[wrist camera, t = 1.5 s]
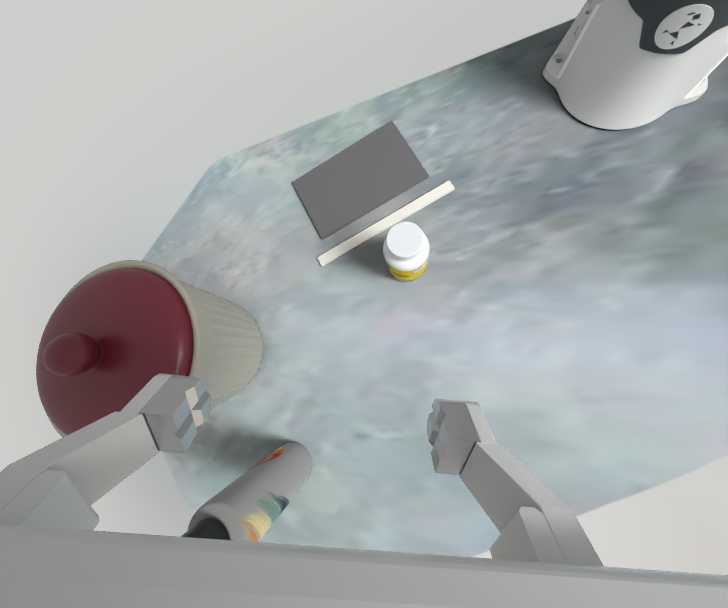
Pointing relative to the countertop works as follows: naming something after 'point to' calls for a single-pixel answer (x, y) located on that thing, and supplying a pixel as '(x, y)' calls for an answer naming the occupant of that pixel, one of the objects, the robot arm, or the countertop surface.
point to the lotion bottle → (253, 497)
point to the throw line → (386, 222)
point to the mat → (359, 179)
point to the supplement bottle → (406, 251)
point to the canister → (139, 342)
